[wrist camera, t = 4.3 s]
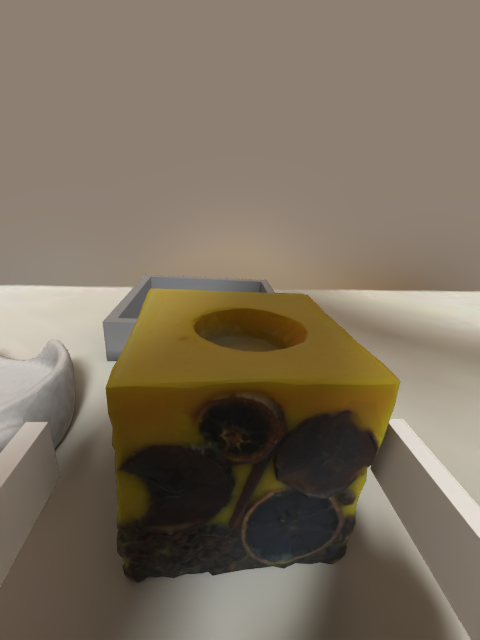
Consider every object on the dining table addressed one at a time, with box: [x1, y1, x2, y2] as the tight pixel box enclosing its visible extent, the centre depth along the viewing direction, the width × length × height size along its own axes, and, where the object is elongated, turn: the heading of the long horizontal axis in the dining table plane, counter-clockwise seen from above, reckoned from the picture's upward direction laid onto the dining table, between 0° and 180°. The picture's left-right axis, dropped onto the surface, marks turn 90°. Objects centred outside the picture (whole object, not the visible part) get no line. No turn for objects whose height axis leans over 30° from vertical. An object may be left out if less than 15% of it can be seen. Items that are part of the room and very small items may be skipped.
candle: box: [106, 288, 400, 582], centre depth 16 cm, size 10×10×10 cm
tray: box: [103, 275, 275, 361], centre depth 37 cm, size 18×18×4 cm
